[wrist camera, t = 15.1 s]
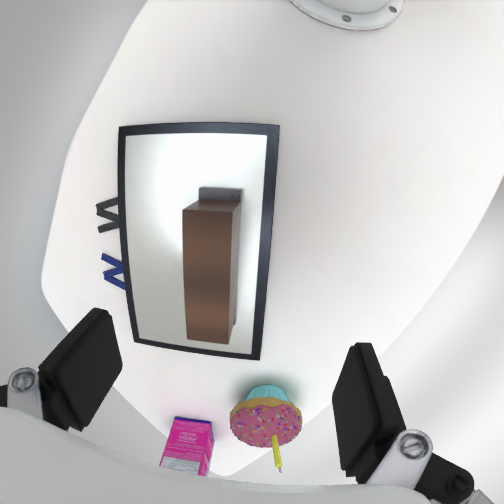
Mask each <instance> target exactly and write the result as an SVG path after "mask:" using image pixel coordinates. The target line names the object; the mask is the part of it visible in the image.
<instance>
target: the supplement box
mask: <svg viewBox="0 0 504 504" xmlns="http://www.w3.org/2000/svg"><path fill="white" fill-rule="evenodd" d="M213 447H214V438H213V433H212V426H211V422H207V421H200V420H192V419H186V418H180V417H175V419H174V422H173V425H172V428H171V431H170V434H169V437H168V440H167V444H166V446H165V450H164V452H163V456H162V458H161V461H160V465H159V466H161V467H165V468H169V469H173V470H177V471H181V472H186V473H190V474H195V475H200V476H206V477H208V473H209V467H210V462H211V457H212V452H213Z"/></svg>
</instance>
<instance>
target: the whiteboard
mask: <svg viewBox="0 0 504 504" xmlns="http://www.w3.org/2000/svg"><path fill="white" fill-rule="evenodd" d="M279 128H280V125H271V124H255V123H229V122H187V123H161V124H145V125H133V126H122V127H119V133H118V213H119V230H120V244H121V255H122V265H123V274H124V282H125V290H126V297H127V304H128V310H129V316H130V322H131V328H132V333H133V338H134V342H136V343H141V344H146V345H151V346H157V347H162V348H167V349H173V350H179V351H185V352H192V353H199V354H206V355H213V356H221V357H229V358H238V359H248V360H260V353H261V343H262V333H263V323H264V313H265V303H266V292H267V281H268V270H269V259H270V247H271V235H272V223H273V211H274V198H275V185H276V172H277V158H278V143H279ZM200 187H223V188H241V189H242V207H241V227H240V247H239V268H238V291H237V315H236V323H235V325H233V328H232V332H231V336H230V341H229V344H228V345H226V344H217V343H209V342H202V341H194V340H188V339H187V334H186V320H185V303H184V282H183V248H182V210H183V209H184V208H186V207H188V206H189V205H191V204H192V203H194V202H196V201H197V200H198V198H199V188H200Z"/></svg>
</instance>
